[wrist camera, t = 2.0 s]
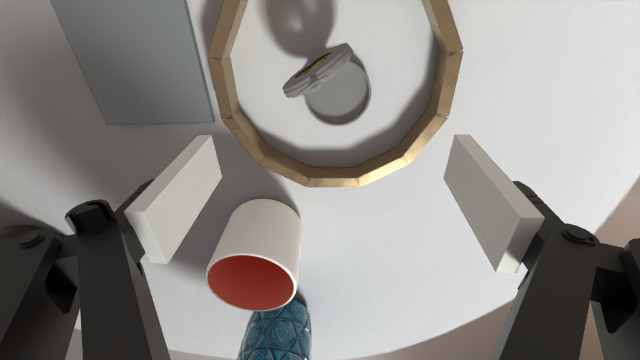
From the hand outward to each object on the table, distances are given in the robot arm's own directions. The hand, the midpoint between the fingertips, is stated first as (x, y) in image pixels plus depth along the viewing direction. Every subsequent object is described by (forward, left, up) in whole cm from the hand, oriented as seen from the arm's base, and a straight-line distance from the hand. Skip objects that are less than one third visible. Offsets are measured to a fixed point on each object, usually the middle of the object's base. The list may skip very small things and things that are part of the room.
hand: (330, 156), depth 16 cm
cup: (-9, -19, -16) cm, 26 cm away
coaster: (-19, +2, -16) cm, 25 cm away
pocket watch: (0, 0, -16) cm, 16 cm away
